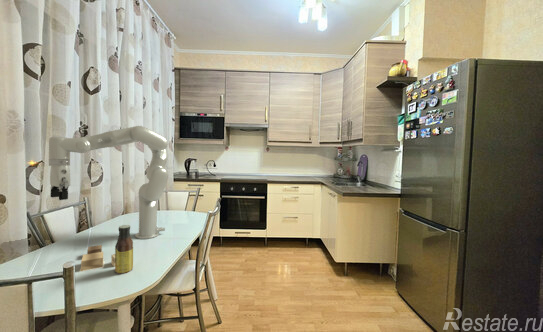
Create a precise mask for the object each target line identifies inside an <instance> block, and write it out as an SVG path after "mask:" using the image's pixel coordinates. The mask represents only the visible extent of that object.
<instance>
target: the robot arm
mask: <svg viewBox="0 0 543 332" xmlns="http://www.w3.org/2000/svg"><path fill="white" fill-rule="evenodd" d="M138 142H139V143H142V144H144V145H146V146H147V147H148V148H149V149H150V151H151V160H150V162H149V166H148V168H147V171H146V179H148V182H146V183H144V184H141V186H139V189H138V193H137V194H138V207H139V208H138V232H137V233H135V235H134V236H135V238H136V239H139V240H146V239H152V238H156V237H158V236H159V235H160V232H165V231H166V228H165V227H158V226H157V225H158V223H157V221H158V220H157V219H158V217H157V216H158V215H157V214H158V201H159V200H160V199H161V198H162V196H163V195H164V191H165V188H166V186H167V183H168V179H169V172H168V170H167V169H166V166H167V163H168V158H169V156H168V151H167V147H168V144H169V143H168V140H167V139H166V138H165V137H164V136H162V135H160V134H159V133H157V132H155V131H153V130H151V129H148V127H145V126H142V125H136V126H131V127H126V128H124V127H123V128H120V129H114V130H113V129H112V130H109V131H106V132H102V133H99V134H93V135H89V136H84V137H66V136H64V137H63V136H51V137H49V139H48V166H49V167H50V172H49V185H50V198H58V201H66V200H68V199H69V187H70V186H71V172H70V171H71V170H70V166H71V153H78V154H85V153H88V152H90V151H95V150H101V149H105V148H115V147H119V146H123V145H128V144H132V143H138Z"/></svg>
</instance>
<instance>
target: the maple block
mask: <svg viewBox="0 0 543 332" xmlns="http://www.w3.org/2000/svg"><path fill="white" fill-rule="evenodd" d="M110 258H111V262H110V263H111V265H112V267H114V268H115V253H114V254H111V256H110Z"/></svg>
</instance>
